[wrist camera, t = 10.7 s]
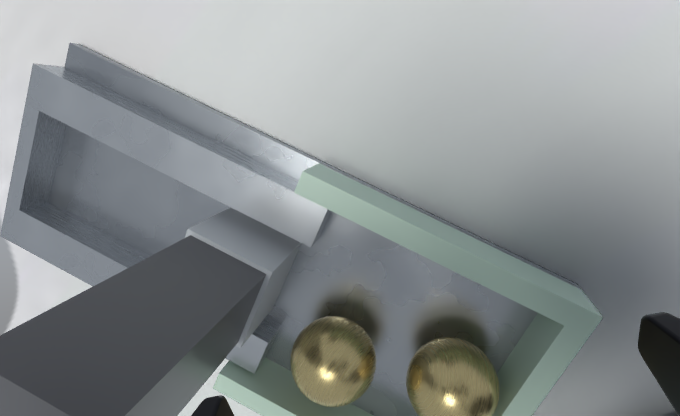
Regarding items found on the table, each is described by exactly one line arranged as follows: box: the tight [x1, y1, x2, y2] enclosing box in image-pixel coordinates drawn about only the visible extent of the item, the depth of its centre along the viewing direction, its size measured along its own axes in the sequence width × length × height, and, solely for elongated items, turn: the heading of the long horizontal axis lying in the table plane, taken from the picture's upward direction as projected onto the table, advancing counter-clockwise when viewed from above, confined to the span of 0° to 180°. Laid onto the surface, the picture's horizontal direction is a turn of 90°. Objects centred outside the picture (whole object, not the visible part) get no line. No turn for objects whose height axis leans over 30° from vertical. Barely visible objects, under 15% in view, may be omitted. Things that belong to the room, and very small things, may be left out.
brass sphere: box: [290, 316, 376, 407], centre depth 20 cm, size 4×4×4 cm
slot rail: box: [0, 43, 581, 416], centre depth 21 cm, size 27×12×2 cm, turn 66°
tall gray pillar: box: [0, 208, 301, 416], centre depth 16 cm, size 4×4×13 cm
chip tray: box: [213, 163, 603, 416], centre depth 20 cm, size 13×12×3 cm
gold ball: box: [406, 337, 500, 416], centre depth 19 cm, size 4×4×4 cm
